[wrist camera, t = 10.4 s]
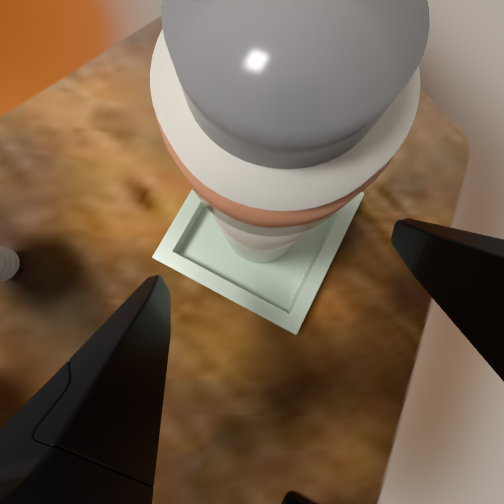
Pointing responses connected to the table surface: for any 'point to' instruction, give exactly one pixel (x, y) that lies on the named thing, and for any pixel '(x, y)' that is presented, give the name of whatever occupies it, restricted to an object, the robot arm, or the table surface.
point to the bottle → (285, 106)
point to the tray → (254, 274)
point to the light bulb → (8, 263)
